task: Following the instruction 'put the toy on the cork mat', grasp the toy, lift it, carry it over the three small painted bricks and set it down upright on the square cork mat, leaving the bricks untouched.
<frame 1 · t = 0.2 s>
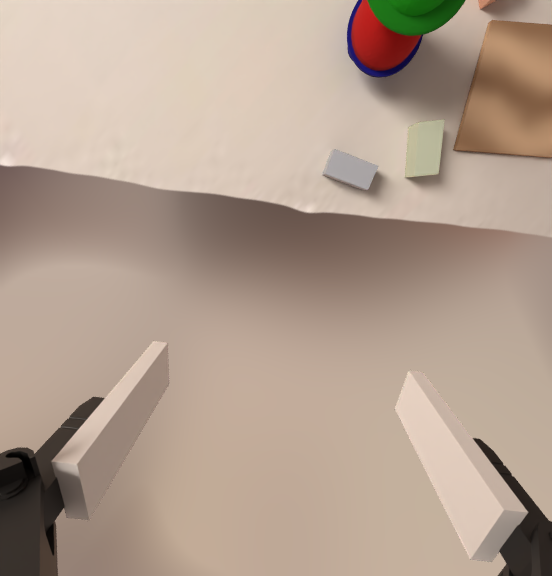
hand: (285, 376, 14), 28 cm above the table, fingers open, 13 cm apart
sage brick: (417, 152, 35), on the table
toy: (374, 43, 31), on the table
slate brick: (346, 171, 36), on the table
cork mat: (522, 95, 32), on the table
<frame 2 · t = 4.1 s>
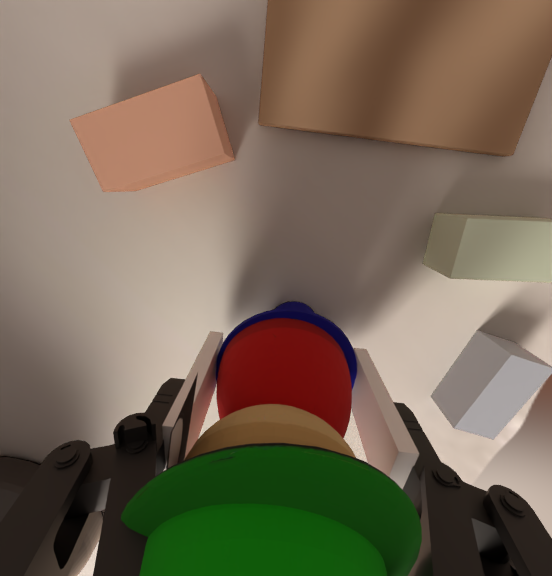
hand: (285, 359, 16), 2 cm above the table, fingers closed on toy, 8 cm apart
sage brick: (476, 240, 16), on the table
toy: (275, 335, 18), on the table, touching gripper
slate brick: (469, 369, 19), on the table
terracotta brick: (174, 147, 14), on the table
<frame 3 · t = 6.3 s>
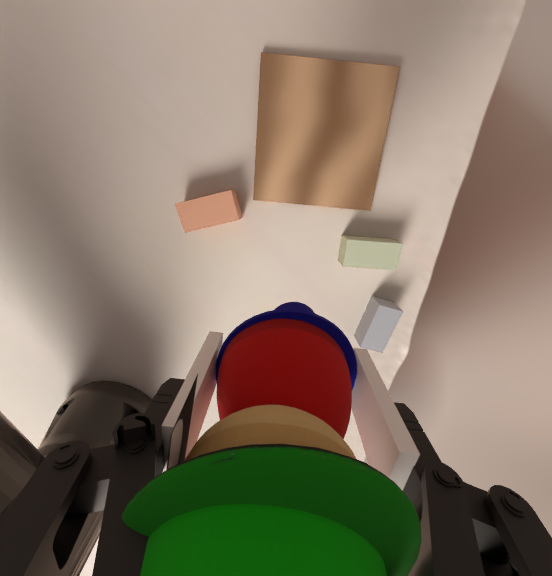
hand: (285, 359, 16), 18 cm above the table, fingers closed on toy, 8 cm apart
sage brick: (364, 249, 32), on the table
toy: (275, 336, 18), point 15 cm above the table, touching gripper
slate brick: (372, 318, 35), on the table
terracotta brick: (213, 209, 30), on the table
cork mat: (319, 139, 27), on the table
when the fingers open (3 cm above the table, at t = 10.1 s): toy stays where it is, resting on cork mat.
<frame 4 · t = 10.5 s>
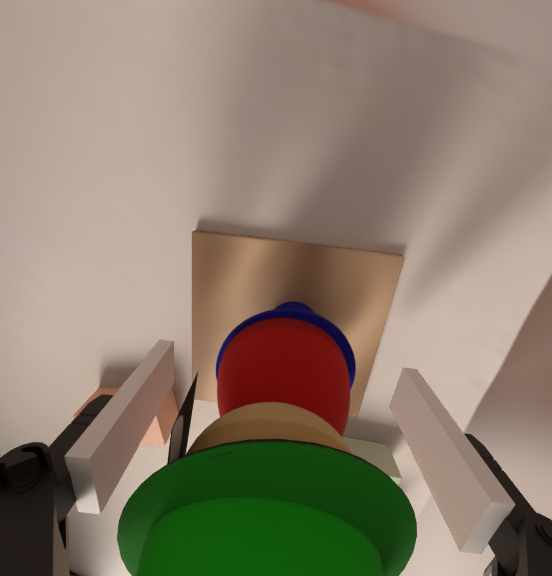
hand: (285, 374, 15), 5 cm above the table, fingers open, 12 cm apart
sage brick: (348, 448, 23), on the table
toy: (275, 335, 18), resting on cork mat
terracotta brick: (140, 399, 22), on the table
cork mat: (285, 332, 19), on the table
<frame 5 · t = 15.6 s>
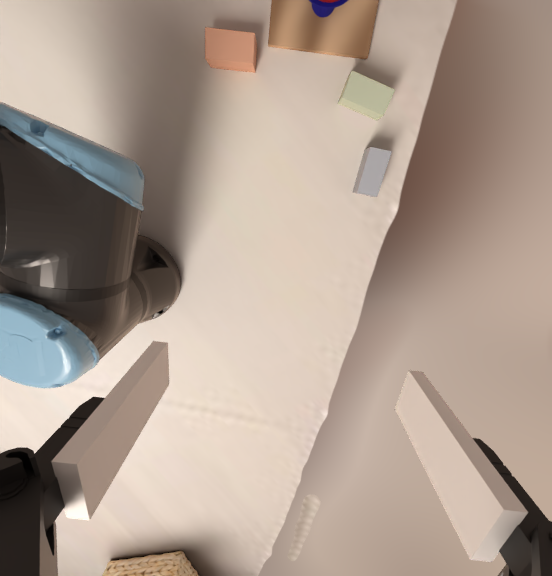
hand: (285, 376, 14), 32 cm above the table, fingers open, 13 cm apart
sage brick: (361, 100, 37), on the table
basket: (163, 573, 82), on the table
slate brick: (367, 173, 40), on the table
terracotta brick: (233, 56, 35), on the table
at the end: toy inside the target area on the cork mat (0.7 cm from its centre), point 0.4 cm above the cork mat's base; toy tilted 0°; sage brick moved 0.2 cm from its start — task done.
